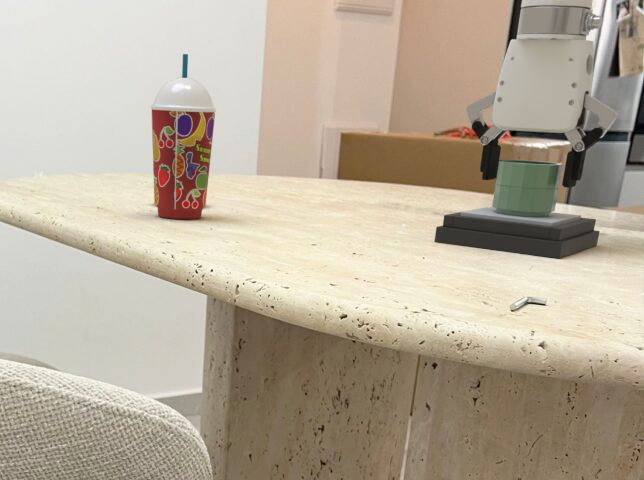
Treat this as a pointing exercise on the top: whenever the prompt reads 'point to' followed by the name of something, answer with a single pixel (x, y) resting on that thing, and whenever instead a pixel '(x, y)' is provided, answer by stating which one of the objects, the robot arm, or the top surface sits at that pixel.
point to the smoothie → (182, 146)
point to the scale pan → (551, 220)
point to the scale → (518, 235)
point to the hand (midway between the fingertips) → (528, 182)
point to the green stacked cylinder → (526, 188)
